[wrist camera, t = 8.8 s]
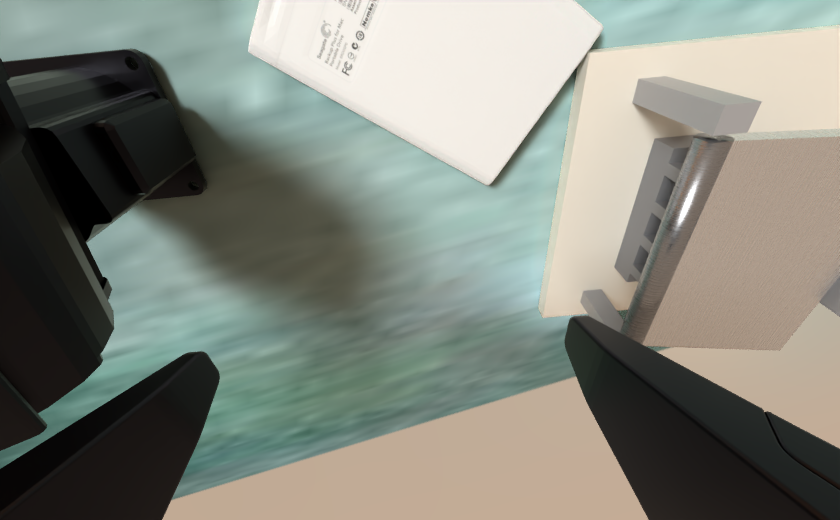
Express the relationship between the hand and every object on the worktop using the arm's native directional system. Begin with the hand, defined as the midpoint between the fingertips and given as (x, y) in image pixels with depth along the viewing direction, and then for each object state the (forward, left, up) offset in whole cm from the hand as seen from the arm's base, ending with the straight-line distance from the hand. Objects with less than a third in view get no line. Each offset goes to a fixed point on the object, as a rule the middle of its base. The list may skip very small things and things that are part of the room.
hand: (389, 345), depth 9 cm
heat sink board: (+16, -4, -12) cm, 20 cm away
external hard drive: (+2, +6, -13) cm, 14 cm away
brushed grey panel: (+12, -4, -6) cm, 14 cm away
